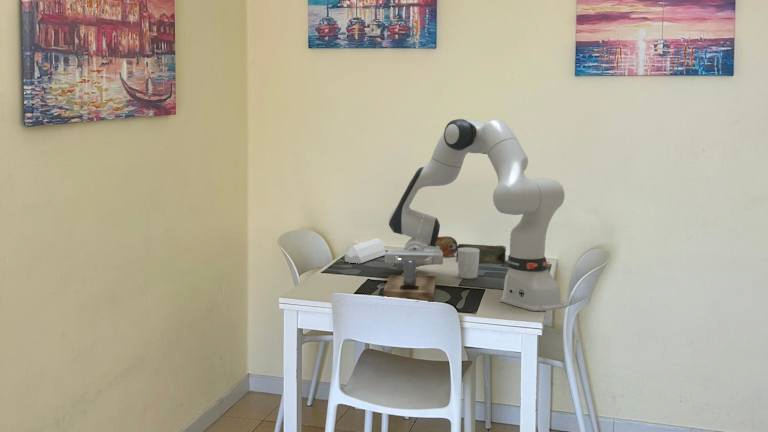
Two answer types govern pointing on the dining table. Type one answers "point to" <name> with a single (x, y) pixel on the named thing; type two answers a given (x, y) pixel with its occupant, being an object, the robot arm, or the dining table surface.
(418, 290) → the socket block
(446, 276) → the dining table surface
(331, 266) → the dining table surface
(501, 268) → the dining table surface
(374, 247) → the white rounded block
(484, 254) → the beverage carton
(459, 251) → the white cup
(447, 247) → the tin
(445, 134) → the robot arm
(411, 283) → the pin
